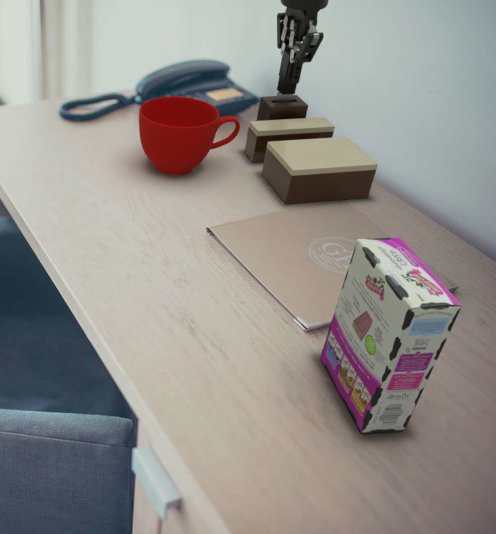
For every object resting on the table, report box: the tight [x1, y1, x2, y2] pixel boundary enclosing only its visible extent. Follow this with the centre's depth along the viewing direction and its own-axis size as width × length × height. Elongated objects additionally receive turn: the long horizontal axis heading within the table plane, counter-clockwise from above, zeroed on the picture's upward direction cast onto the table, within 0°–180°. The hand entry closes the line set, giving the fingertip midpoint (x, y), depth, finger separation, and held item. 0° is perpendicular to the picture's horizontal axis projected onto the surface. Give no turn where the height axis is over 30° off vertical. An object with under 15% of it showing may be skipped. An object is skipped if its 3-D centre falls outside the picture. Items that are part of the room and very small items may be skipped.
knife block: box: [256, 94, 309, 121], centre depth 117 cm, size 7×5×8 cm
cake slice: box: [244, 116, 336, 163], centre depth 112 cm, size 14×4×6 cm, turn 100°
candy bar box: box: [319, 236, 463, 434], centre depth 64 cm, size 11×5×16 cm, turn 6°
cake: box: [261, 136, 379, 205], centre depth 104 cm, size 14×10×6 cm
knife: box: [275, 49, 299, 103], centre depth 114 cm, size 3×2×14 cm
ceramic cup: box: [138, 95, 241, 176], centre depth 107 cm, size 13×17×10 cm
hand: (288, 79), depth 113 cm, fingers closed on knife, 2 cm apart
